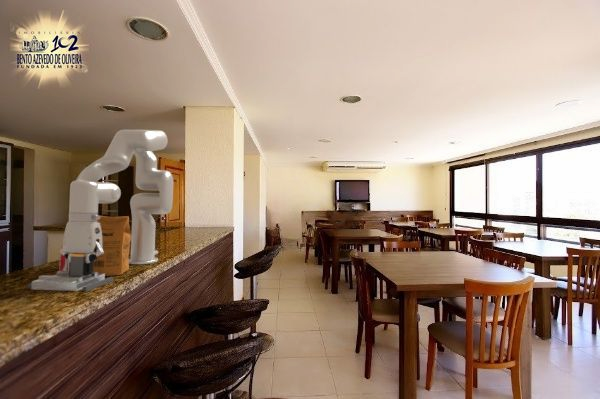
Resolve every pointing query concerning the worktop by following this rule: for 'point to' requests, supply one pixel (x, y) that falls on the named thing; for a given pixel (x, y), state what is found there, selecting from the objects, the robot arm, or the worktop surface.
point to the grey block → (77, 265)
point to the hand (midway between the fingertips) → (81, 273)
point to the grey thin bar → (97, 284)
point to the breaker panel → (65, 281)
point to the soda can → (63, 263)
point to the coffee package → (114, 246)
